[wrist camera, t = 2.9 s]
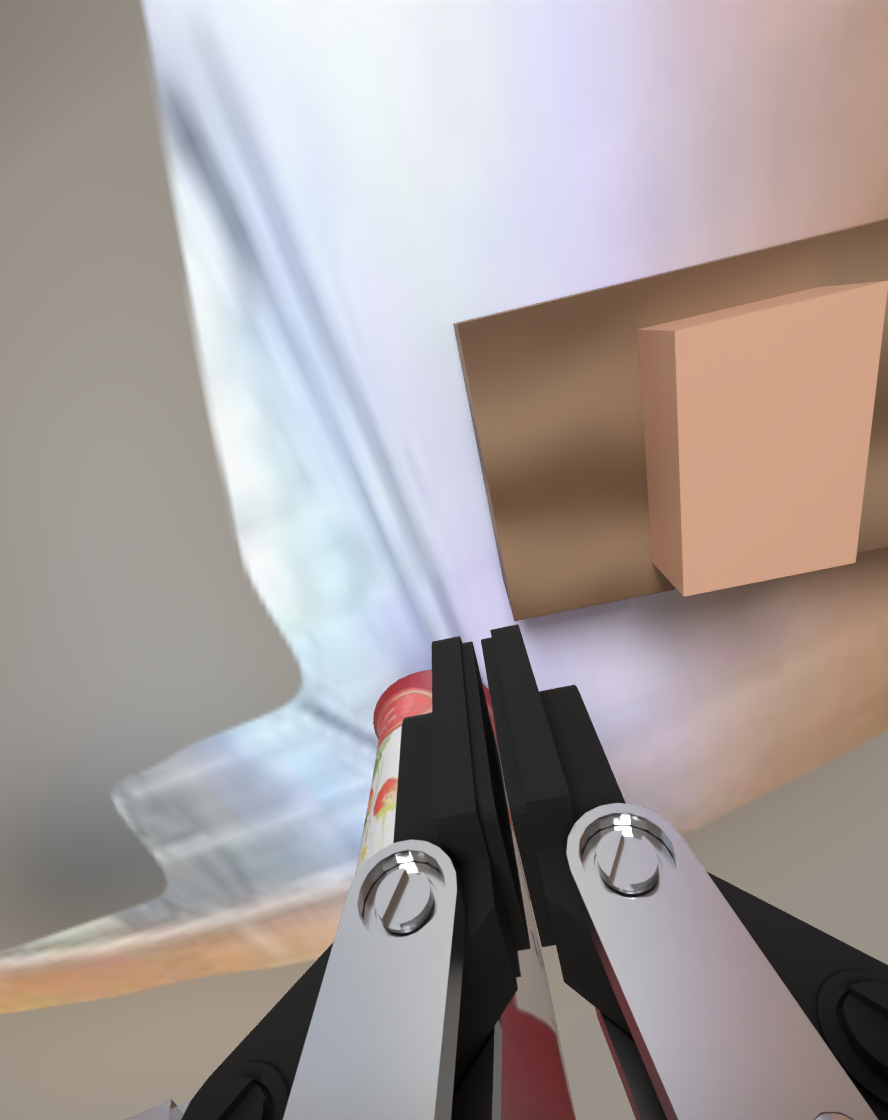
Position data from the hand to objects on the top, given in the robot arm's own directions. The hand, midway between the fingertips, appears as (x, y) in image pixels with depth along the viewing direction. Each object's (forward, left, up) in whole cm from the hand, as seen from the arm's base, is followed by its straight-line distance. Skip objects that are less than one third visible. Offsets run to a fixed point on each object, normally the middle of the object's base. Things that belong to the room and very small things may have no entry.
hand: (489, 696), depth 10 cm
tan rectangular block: (0, +10, -10) cm, 14 cm away
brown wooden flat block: (0, +12, -15) cm, 20 cm away
